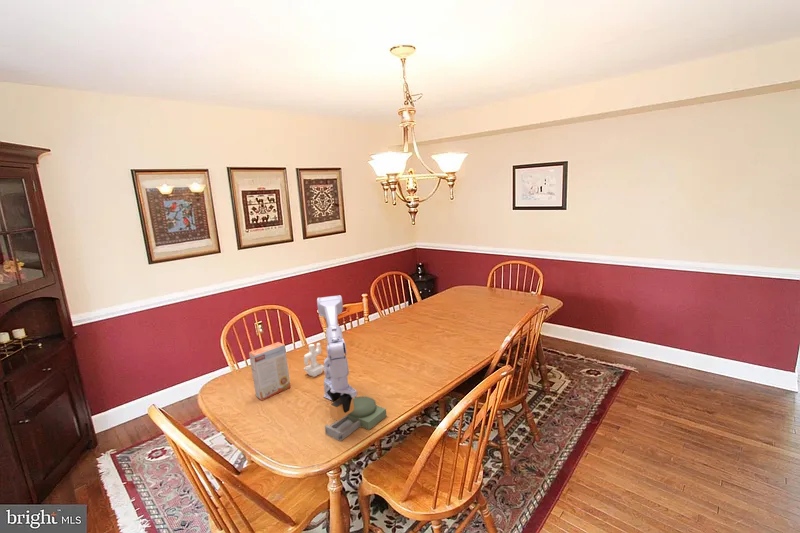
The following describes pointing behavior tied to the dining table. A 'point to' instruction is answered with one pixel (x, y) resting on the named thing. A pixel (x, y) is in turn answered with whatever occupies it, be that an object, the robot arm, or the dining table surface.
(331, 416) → the orange-framed grey panel
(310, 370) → the figurine
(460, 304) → the dining table surface
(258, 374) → the cracker box
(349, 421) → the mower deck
